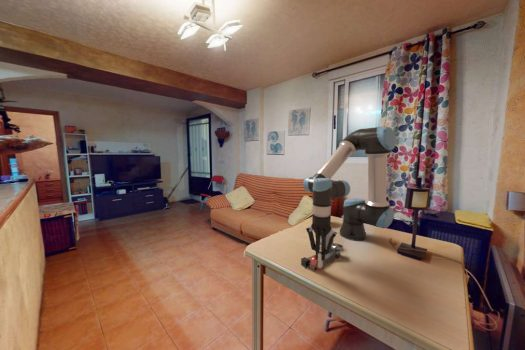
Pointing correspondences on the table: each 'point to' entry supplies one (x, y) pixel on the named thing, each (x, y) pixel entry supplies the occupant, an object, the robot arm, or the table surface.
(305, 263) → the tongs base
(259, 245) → the table surface
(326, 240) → the cup
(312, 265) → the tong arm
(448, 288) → the table surface
